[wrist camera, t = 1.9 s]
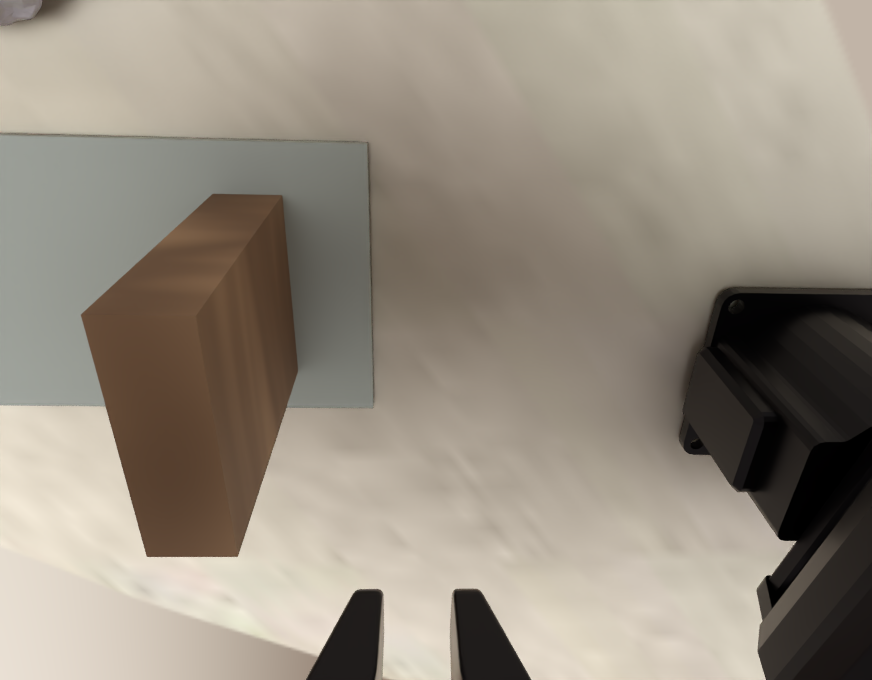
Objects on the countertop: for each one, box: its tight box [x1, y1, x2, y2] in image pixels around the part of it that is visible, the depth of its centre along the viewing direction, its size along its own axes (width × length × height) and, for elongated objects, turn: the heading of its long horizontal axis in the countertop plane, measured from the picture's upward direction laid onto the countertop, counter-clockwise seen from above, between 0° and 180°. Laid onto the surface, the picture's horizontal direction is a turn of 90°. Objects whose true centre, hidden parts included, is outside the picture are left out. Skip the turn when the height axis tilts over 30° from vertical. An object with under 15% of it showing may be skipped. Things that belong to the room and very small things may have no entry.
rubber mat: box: [0, 133, 374, 408], centre depth 19 cm, size 15×9×1 cm, turn 88°
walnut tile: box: [81, 194, 298, 557], centre depth 16 cm, size 2×6×8 cm, turn 178°
